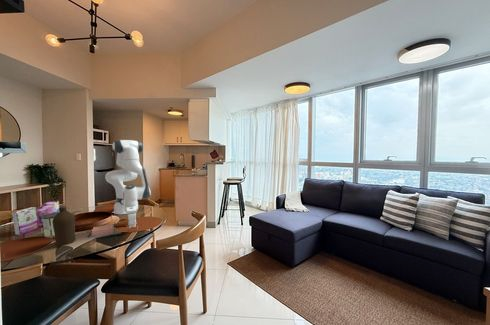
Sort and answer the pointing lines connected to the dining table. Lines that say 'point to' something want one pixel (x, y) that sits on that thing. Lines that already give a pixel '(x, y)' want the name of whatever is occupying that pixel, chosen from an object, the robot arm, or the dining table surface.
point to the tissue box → (49, 224)
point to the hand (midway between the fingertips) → (132, 225)
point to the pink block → (103, 230)
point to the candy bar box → (25, 220)
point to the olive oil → (64, 227)
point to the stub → (130, 224)
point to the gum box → (46, 210)
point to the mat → (104, 235)
